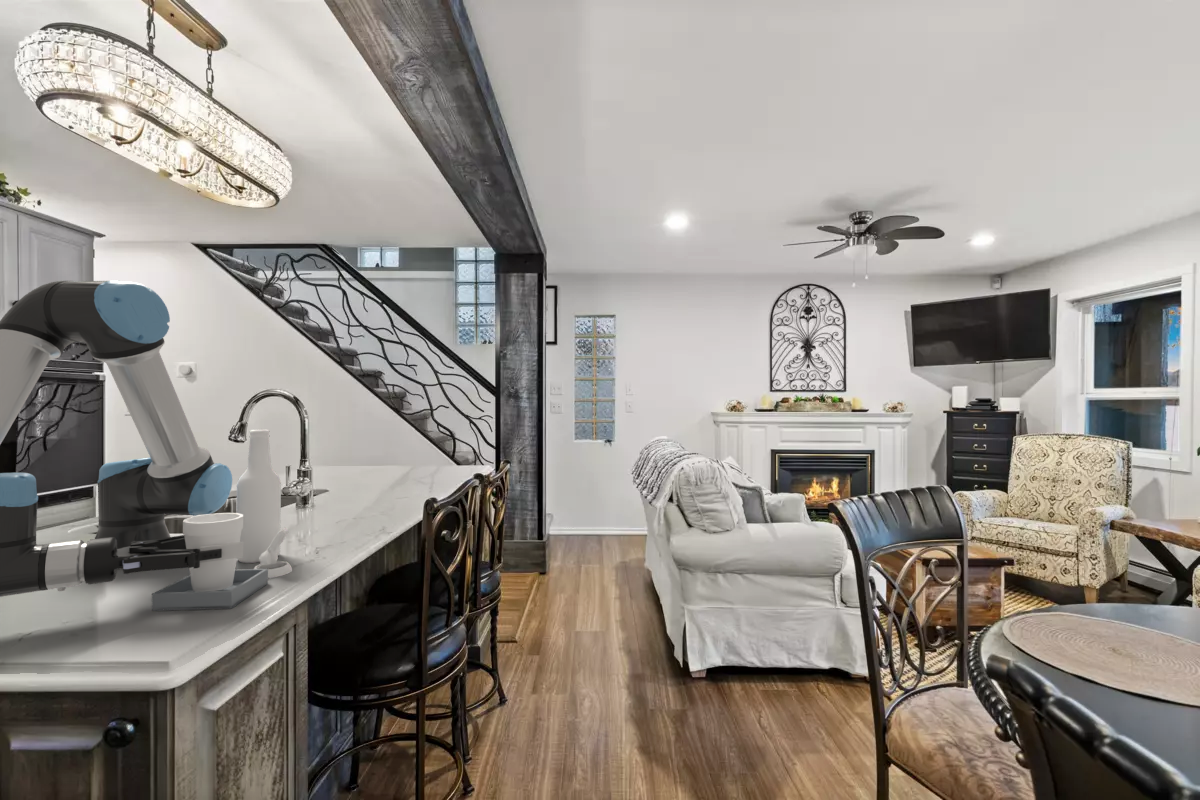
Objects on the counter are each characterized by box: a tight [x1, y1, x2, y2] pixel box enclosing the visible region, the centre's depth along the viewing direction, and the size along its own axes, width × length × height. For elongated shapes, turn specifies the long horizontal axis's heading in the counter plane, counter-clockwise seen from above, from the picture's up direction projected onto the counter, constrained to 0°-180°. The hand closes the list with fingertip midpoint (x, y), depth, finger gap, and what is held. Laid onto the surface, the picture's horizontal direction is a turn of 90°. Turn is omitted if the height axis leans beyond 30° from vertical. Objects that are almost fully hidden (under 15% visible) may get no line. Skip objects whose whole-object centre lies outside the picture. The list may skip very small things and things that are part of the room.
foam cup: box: [182, 512, 243, 592], centre depth 105 cm, size 10×9×13 cm
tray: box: [151, 568, 269, 612], centre depth 105 cm, size 13×13×3 cm
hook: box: [253, 526, 293, 579], centre depth 119 cm, size 8×12×7 cm
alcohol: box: [235, 429, 282, 564], centre depth 129 cm, size 9×9×30 cm
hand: (241, 543), depth 107 cm, fingers closed on foam cup, 9 cm apart
